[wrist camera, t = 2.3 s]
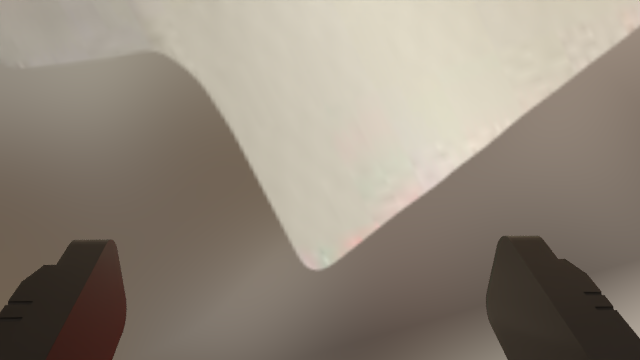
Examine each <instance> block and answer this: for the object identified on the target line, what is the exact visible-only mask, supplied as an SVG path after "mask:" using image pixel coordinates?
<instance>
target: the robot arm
mask: <svg viewBox="0 0 640 360" xmlns="http://www.w3.org/2000/svg"><path fill="white" fill-rule="evenodd" d="M486 309H487V315H488V319H489V321H490V324H491V326H492V328H493V330H494V332H495V334H496V336H497V338H498V340H499V342H500V345H501V346H502V348H503V350H504V353H505V355H506V357H507V359H508V360H640V338H639V337H638V336H637V335H636V333H635V332H634V331H633V330H632V329H631V327H630V326H629V325H628V324H627V322H626V321H625V320H624V319H623V318H622V316H621V315H620V314H619V313H618V312H617V310H614V309H613V306H612V304H611V303H610V302H609V300H608V299H607V298H606V297H605V295H601V291H600V289H599V288H598V287H597V286H596V285H595V283H594V282H593V281H592V280H591V278H590V277H589V276H588V275H587V274H586V273H585V272H583V271H582V270H580V269H579V268H577V267H576V266H575V265H573V264H572V263H570V262H569V261H567V260H566V259H558V258H557V257H556V256H555V254H554V253H553V252H552V250H551V249H550V248H549V247H548V245H547V244H546V243H545V242H544V240H543V239H542V238H541V237H539V236H503V237H501V238H500V240H499V241H498V244H497V248H496V253H495V257H494V262H493V266H492V271H491V276H490V280H489V284H488V289H487V294H486ZM125 321H126V297H125V291H124V285H123V279H122V273H121V268H120V262H119V256H118V250H117V246H116V244H115V242H114V241H113V240H73V241H72V242H71V243H70V244H69V246H68V247H67V249H66V251H65V252H64V254H63V255H62V257H61V259H60V260H59V261H58V263H57V265H44V266H42V267H41V268H40V269H38V270H37V271H36V272H34V273H33V274H32V275H30V276H29V277H28V278H26V279H25V280H24V281H22V282H21V284H20V285H19V287H18V288H17V289H16V291H15V292H14V294H13V295H12V296H11V298H10V299H9V301H8V305H5V306H4V308H3V309H2V311H1V312H0V360H112V359H113V356H114V353H115V351H116V348H117V346H118V343H119V340H120V338H121V335H122V333H123V329H124V326H125Z"/></svg>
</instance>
